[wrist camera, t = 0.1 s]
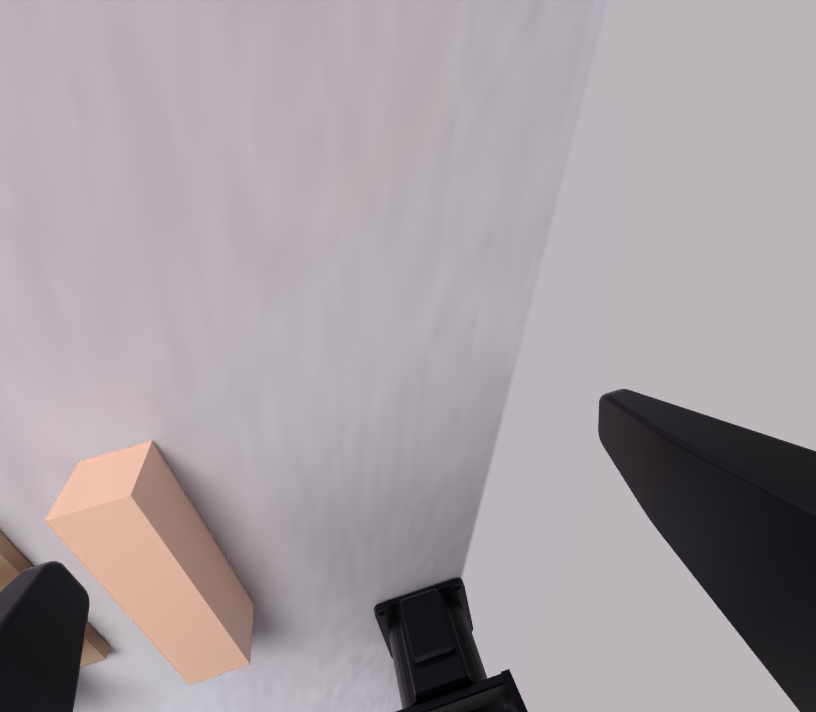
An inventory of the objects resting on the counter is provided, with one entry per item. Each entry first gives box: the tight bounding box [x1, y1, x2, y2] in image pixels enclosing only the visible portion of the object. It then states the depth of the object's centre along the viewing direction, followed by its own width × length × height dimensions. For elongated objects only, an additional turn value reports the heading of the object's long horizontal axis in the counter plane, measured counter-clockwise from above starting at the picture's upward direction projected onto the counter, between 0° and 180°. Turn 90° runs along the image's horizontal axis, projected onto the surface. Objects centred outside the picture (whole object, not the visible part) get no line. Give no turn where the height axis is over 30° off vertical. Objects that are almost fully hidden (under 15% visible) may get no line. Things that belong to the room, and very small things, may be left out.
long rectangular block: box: [45, 441, 254, 685], centre depth 25 cm, size 14×4×4 cm, turn 11°
